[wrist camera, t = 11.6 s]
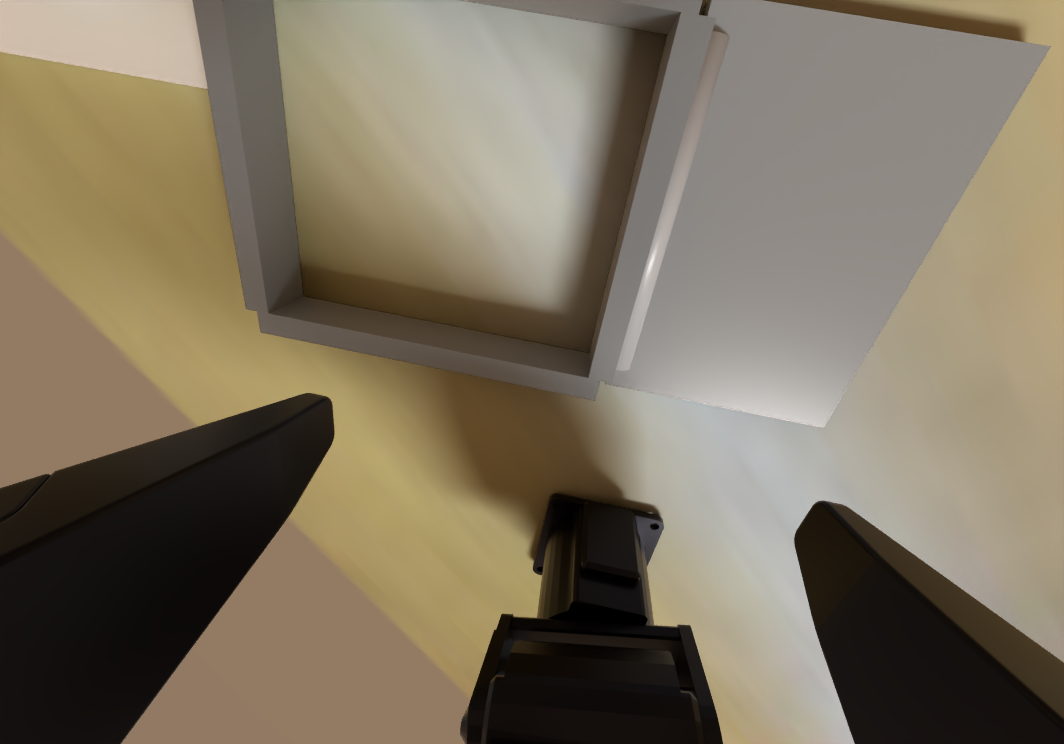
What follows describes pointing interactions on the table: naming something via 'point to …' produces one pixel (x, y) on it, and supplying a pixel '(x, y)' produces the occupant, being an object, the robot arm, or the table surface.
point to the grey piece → (686, 199)
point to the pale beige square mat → (108, 36)
